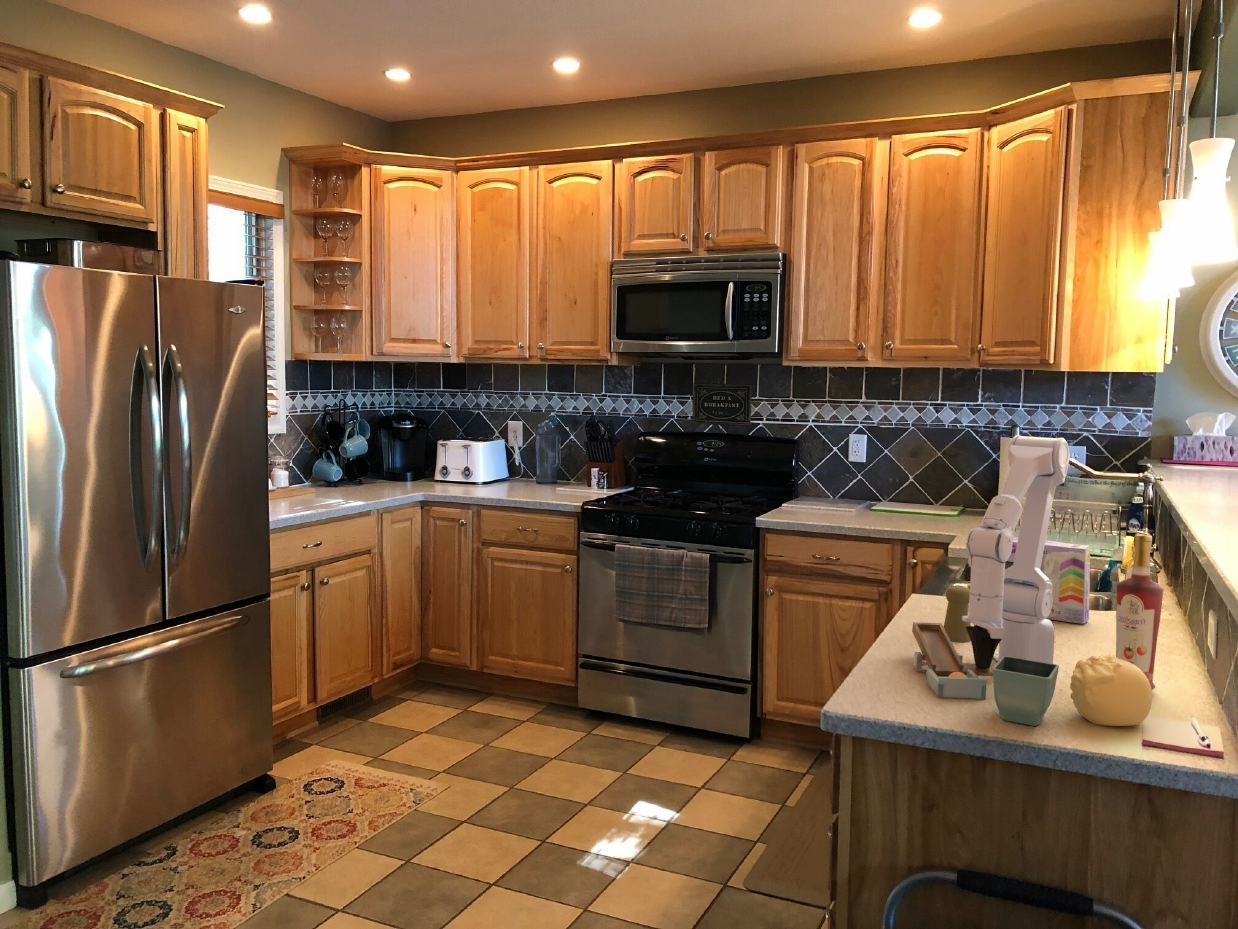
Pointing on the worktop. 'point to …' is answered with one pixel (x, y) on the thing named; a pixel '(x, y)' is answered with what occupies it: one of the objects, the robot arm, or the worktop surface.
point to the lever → (942, 651)
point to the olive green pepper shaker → (957, 613)
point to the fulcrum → (918, 662)
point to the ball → (957, 674)
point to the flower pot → (1023, 688)
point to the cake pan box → (1065, 579)
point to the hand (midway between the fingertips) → (982, 667)
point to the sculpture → (1110, 691)
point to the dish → (957, 686)
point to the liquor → (1139, 612)
